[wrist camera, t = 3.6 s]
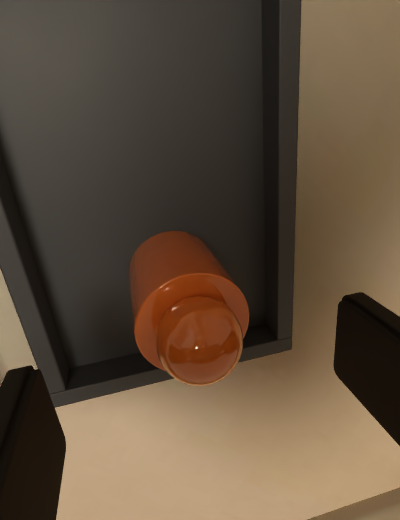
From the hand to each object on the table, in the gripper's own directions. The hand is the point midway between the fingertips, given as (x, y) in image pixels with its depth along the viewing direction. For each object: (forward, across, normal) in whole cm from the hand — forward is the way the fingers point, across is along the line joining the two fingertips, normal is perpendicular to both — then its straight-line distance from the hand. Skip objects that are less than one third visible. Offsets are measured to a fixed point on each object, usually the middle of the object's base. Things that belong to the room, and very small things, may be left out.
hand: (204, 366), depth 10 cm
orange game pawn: (+6, 0, -1) cm, 6 cm away
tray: (+6, 0, -4) cm, 8 cm away
